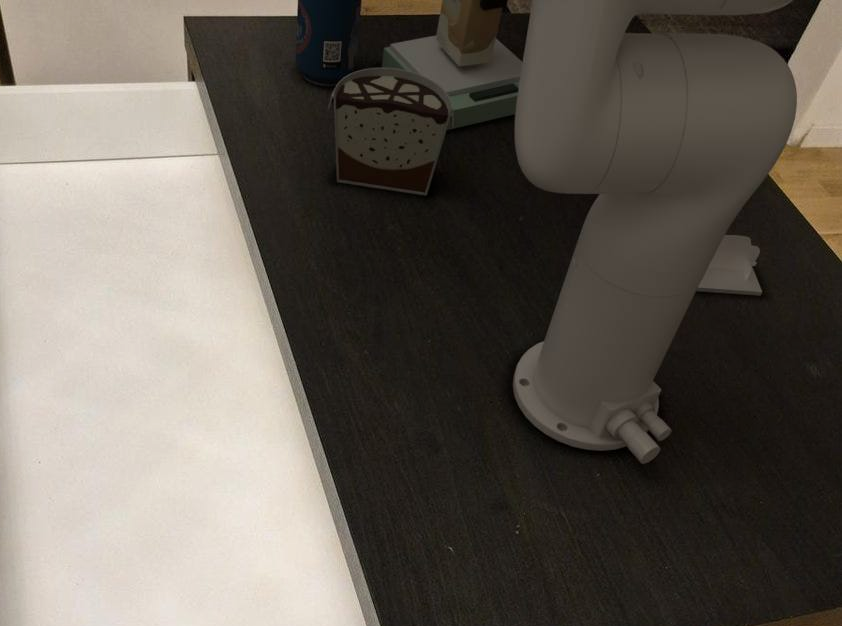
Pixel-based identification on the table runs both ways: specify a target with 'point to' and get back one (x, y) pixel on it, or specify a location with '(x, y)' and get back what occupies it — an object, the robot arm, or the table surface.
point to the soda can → (327, 39)
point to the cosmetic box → (467, 31)
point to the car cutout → (732, 268)
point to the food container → (389, 129)
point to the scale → (463, 78)
